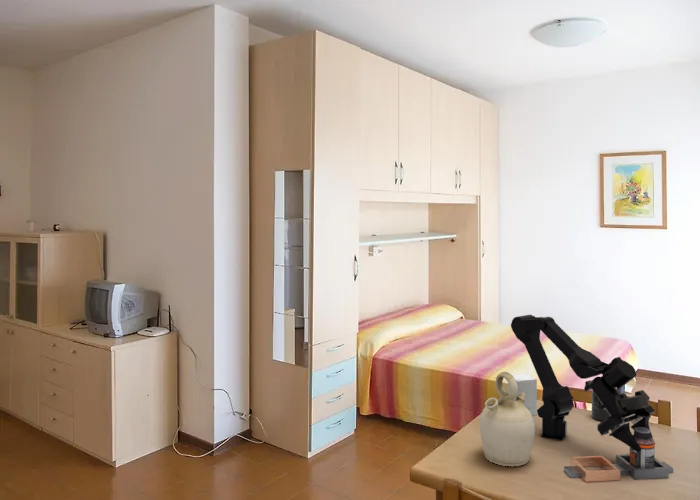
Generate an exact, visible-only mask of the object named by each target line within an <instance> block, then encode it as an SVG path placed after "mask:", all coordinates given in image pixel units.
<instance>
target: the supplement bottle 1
mask: <svg viewBox="0 0 700 500" xmlns="http://www.w3.org/2000/svg"><path fill="white" fill-rule="evenodd" d="M601 405H602V403H601V402H600V400H599V399H598V398H597V396H596V395H595V393H594V392H593V391H592V392H591V417H592V419H594V420H596V421H599V422H602V421H604V420H605V419H606V418H608V417H610V415H609V413H608V412H607V410H606V409H603V410H602V409H601V407H600V406H601Z"/></svg>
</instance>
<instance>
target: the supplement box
mask: <svg viewBox="0 0 700 500" xmlns="http://www.w3.org/2000/svg"><path fill="white" fill-rule="evenodd" d="M511 375H512V376H513V377H514V379H515V380H516V382H517V386H518V392H517V395H516V396H518V395H519V394H520V393H521V392H523V393H525V400H526V401H525V402H524V403H523V405H524V406H525V407H526V408H527V409H528V410H529V411H530V413H531V415H532V417H533V416H538V413H537V410H538V394H537V393H538V391H537V390H538V389H537V387H538V386H537V385H538V383H537V381H538V380H537V378H534V377H533V376H531V375H529V374H528V373H519V374H511ZM507 385H508V386H507V389H508V390H507V391H508V393H507V394H510V386H509V383H508V382H507ZM515 399H516V397H515V398H514V400H515Z"/></svg>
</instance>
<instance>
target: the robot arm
mask: <svg viewBox="0 0 700 500" xmlns="http://www.w3.org/2000/svg"><path fill="white" fill-rule="evenodd" d="M510 327H511V330H512V332H513V334H514V335H515V337H516V338H517V340H519V341H520V342H521V343H522V344H524V346H525V349H526V351H527V353H528V355H529V358H530V360H531V363H532V365H533V367H534V370H535V372H536V374H537V377H538V379H539V381H540V384H541V386H542V393H541V394H542V396H541V397H542V402H543V404H542V405H541V406H540V407H539V408H537V416H538V417H539V418H540V419H541V421H542V423H541V424H542V425H541V430H542V431H541V434H540V437H541V438H543V439H544V438H545V439H551V440H557V441H564V438H566V436H567V434H568V432H567V431H568V428H567V427H568V421H567V420H566V417H567V416H570V412H571V411H572V409H574V405H575V404H574V397H573V395H572V394H571V391H570V388H569V387H568V385H566V386H563V385H562V384H561V383H560V382H559V381H558V378H557V376H556V373H555V371H554V370H553V367H552V365H551V363H550V359H549V358H548V356H547V353H546V351H545V349H544V347H543V344H542V342H541V340H540V339H541V338H540V337H541V332H542V333H543V334H544V335H545V336H546V337H547V338H548V339H549V341H550V342H551V343H553V345H554V346H555V347H556V348H557V349H558V350H559V351H560V352H561V353H562V354H563V355H564V356H565V357H566V358H567V360H568V364H569V366H570V368H571V369H572V371H573V372H574V373H575V375H576V376H577V377H578V378H579V379H580V380H581V379H583V380H584V379H591V378H593V377H594V378H593V379H591V380H586V381H585V385H584V389H583V390H584V392H589V391H592V392H594V393H595V395H596V396H597V398H598V399H599V400H600V402H601V403H602V405H601V406H600V407H601V409H602V410H603V409H606V410H607V412H608V413H609V415H610V417H608V418H606V419H605V420H604V421H600V422H599V423H598V424H597V425H596V426H597V427H596V429H597V431H598V433H599V434H600V436H605V435H608V436H609V437H613V438H614V439H617V440H618V441H620V442H621V443H623V444H625V445H626V446H628V447H629V448H630V447H631V448H633V449H634V450H636V451H637V452H640V451H641V448H640V446H639V444H638V443H637V441H636V439H635V438H634V436H633V435H634V434H633V433H632V431H634V428H636V427H643V428H647V429H649V430H650V431H651V429H650V424H649V423H650V418H651V415H652V414H654V413H655V412H656V410H655V409H654V408H653V406H652V405H650V404H649V401H650V396H649V395H648V394H647V393H646V391H644V389H642V390H637V391H635V392H634V395H633V396H632V395H631V396H627V394H626V393H624V392H623V393H620V391H619V390H618V389H621V388H623V387H624V386H625V385H627V384H628V383H629V382H630V381H632V380H634V378H636V376H637V371H636V369H635V368H634V366H633V365H632V364H630V363H629V362H627V361H626V360H624V359H622V358H621V357H620V356H618V357H617V356H616V357H614V358H612V360H611V361H610V362H609V363H606V362H604V361H602V360H601V359H600V358H599V357H597V356H596V355H595V354H594V353H592V352H590V351H588V350H586V349H584V348H582V347H581V346H580V345H578V343H576V342H575V340H573V338H572V337H571V336H569V335H568V334H567V333H566V331H564V329H562V327H560V326H559V324H558V323H557V322H556V321H555V319H554V318H553V317H552V316H538V317H537V316H535V315H532V314H525V315H518V316H515V317H514V318H512V320H511V323H510ZM600 375H601V376H600ZM630 423H631V424H632V425H631V426H630ZM630 428H631V429H632V431H631V429H630ZM610 431H611V433H610ZM650 437H651V438H653V437H654V436H653V434H652V433H651V436H650ZM653 440H654V441H655V439H654V438H653Z"/></svg>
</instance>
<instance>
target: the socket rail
mask: <svg viewBox="0 0 700 500" xmlns="http://www.w3.org/2000/svg"><path fill="white" fill-rule="evenodd" d="M629 462H630V453H627V454H626V453H625V454H616V455H615V463H612V462H611V461H610V460H608V459H607V458H606V457H605V456H604V455H589V456H588V455H587V456H586V455H585V456H570V457H569V465H568V466H563V472H564V473H565V474H566V475H567V476H568V477H569V478H570V479H573V478H574V479H575V478H581V479H582V480H583V481H584V482H585V483H588V482H589V483H591V482H592V483H594V482H608V481H609V482H611V481H621V476H630V477H631V478H632V479H633V480H646V479H647V480H649V479H650V480H651V479H668V478H669V477H670V473H671V474H672V473H674V468H673V467H672V466H671V465H670V464H669V463H667V462H665V461H660V460H658V459H657V458H655V457H654V468H638V469H636V468H635V467H633V466H632V465H631V464H630V463H629ZM585 467H586V468H587V467H602V468H603V469H604V470H603V469H601V470H587V469H586V468H585Z"/></svg>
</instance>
